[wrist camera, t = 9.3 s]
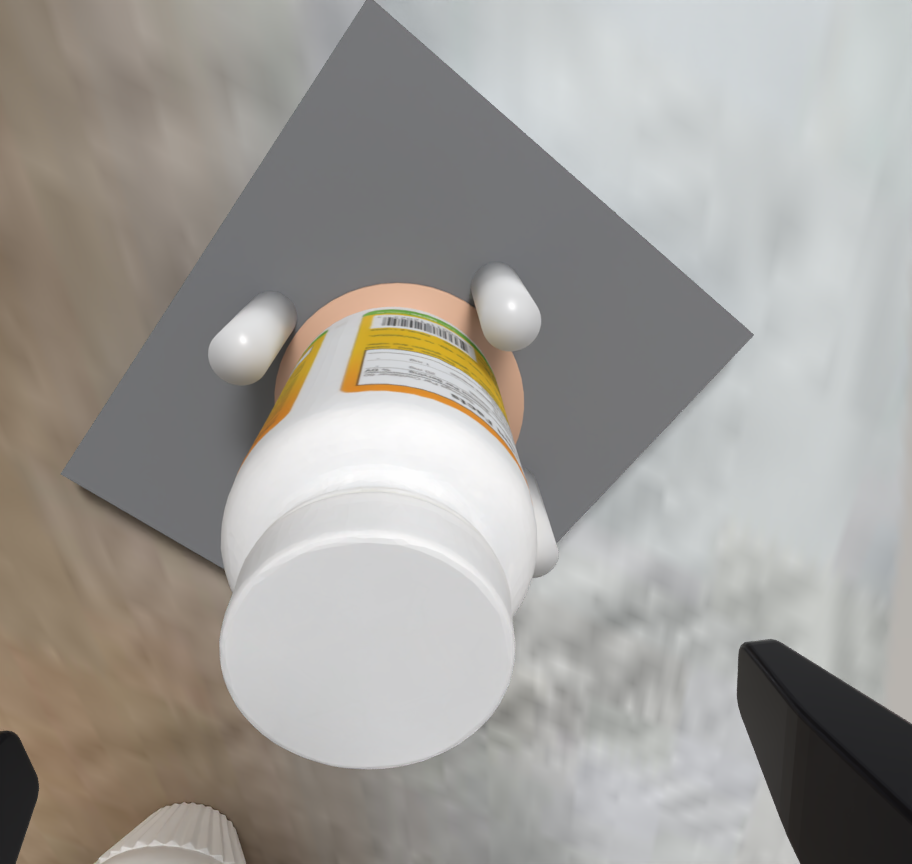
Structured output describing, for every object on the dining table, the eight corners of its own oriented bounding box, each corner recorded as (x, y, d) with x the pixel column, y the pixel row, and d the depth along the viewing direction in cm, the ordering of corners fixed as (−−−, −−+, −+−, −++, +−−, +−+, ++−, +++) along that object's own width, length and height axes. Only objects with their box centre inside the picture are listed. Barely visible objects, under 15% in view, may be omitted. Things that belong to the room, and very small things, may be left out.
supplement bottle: (345, 526, 20) (280, 853, 11) (251, 351, 18) (76, 577, 9) (529, 456, 19) (619, 741, 10) (453, 268, 17) (483, 418, 8)
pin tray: (422, 662, 23) (421, 777, 19) (77, 458, 20) (-14, 544, 16) (738, 325, 19) (823, 378, 15) (372, 3, 16) (353, -40, 12)
